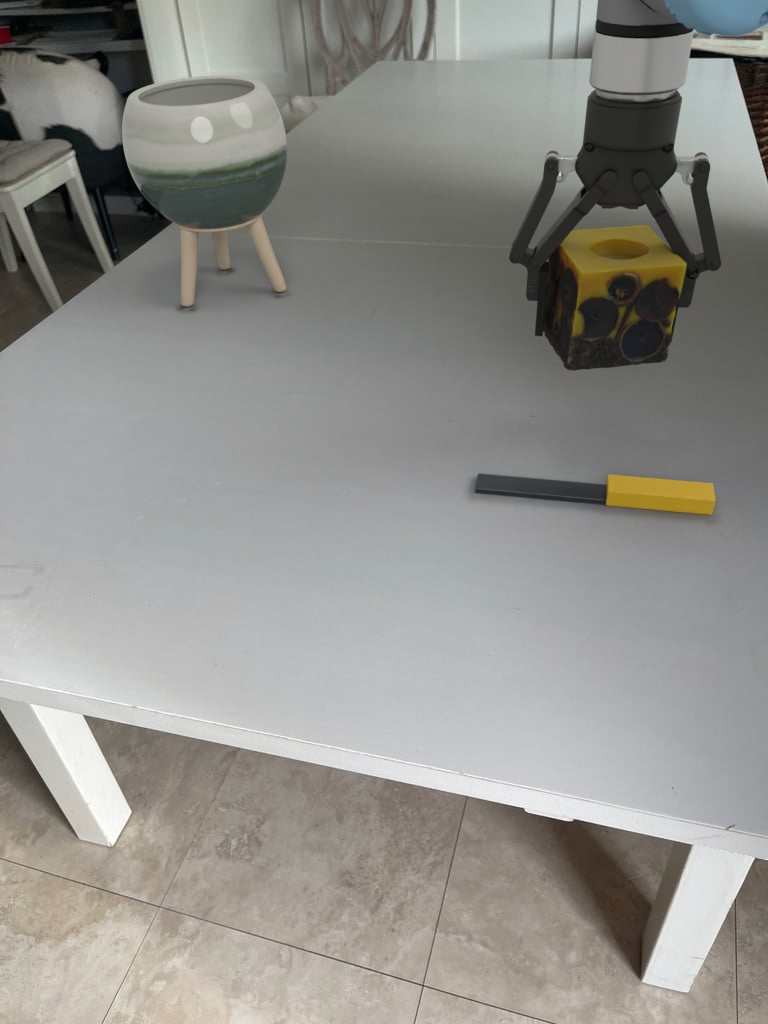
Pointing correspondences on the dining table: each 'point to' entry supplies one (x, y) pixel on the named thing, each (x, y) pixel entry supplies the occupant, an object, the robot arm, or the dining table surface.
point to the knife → (609, 492)
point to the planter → (208, 162)
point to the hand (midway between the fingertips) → (601, 333)
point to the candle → (612, 297)
